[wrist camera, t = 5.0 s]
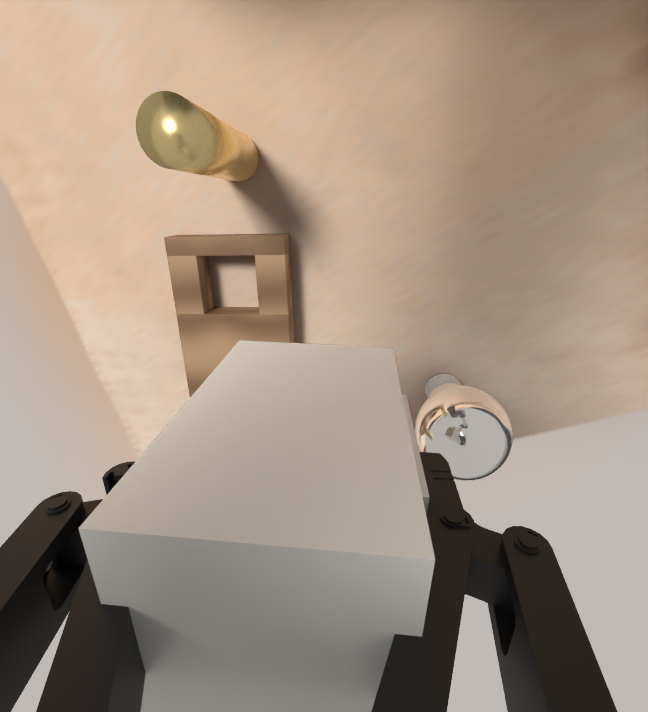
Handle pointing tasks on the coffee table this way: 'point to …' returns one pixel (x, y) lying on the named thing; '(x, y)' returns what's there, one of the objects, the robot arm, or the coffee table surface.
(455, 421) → the light bulb
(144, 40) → the coffee table surface
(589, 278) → the coffee table surface
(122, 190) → the coffee table surface
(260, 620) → the block
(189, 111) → the pin
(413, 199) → the coffee table surface
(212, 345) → the board
